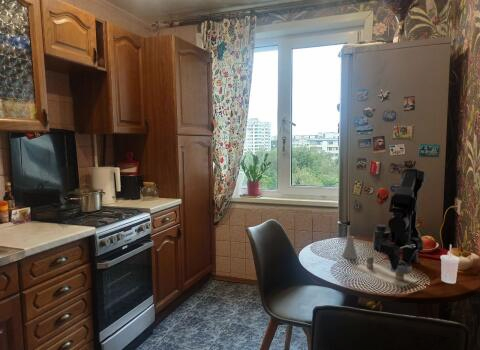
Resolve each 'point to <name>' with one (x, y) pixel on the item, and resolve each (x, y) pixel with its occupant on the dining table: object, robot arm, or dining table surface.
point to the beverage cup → (449, 268)
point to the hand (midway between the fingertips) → (400, 267)
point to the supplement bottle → (375, 240)
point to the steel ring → (401, 268)
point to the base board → (385, 273)
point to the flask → (350, 249)
